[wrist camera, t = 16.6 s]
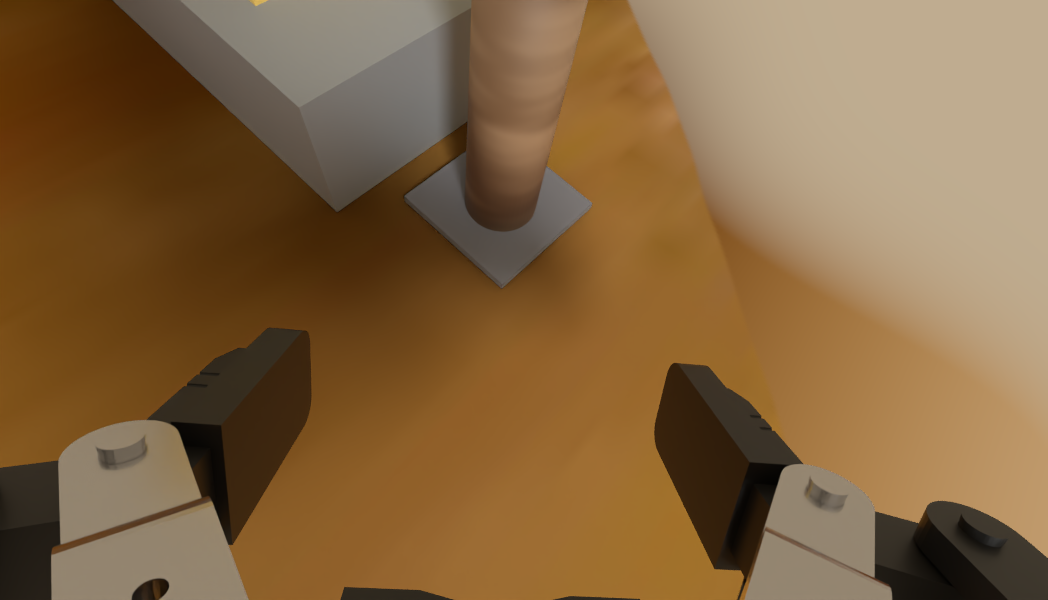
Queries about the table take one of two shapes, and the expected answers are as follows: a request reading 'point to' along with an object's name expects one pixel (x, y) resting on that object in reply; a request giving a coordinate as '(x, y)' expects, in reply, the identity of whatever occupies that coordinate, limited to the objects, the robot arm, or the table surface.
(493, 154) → the brown wooden cylinder
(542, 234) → the rest pad
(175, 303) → the table surface
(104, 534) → the robot arm
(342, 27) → the grey base plinth
